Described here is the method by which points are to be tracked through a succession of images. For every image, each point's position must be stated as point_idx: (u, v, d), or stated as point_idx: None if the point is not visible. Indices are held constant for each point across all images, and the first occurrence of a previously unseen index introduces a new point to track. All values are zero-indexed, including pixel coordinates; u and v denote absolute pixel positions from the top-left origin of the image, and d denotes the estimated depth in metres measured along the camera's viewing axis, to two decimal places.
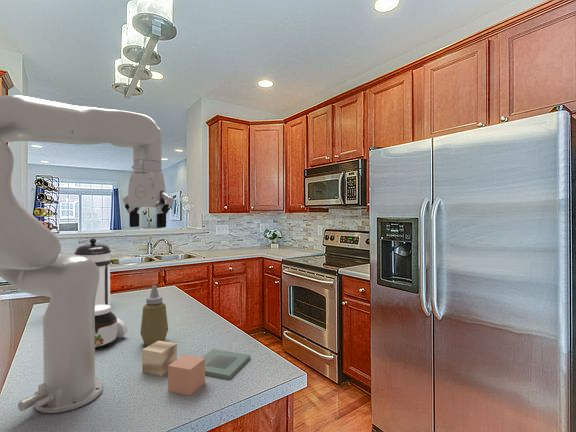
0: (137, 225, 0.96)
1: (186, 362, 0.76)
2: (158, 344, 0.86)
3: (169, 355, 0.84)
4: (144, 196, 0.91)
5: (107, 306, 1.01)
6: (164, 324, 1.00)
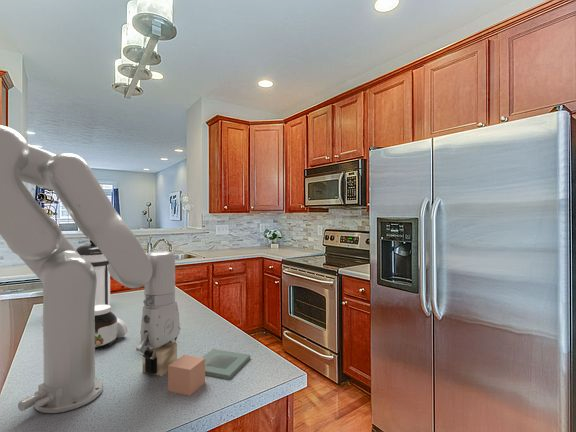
0: None
1: (186, 362, 0.76)
2: None
3: (169, 354, 0.84)
4: (172, 329, 0.85)
5: (107, 306, 1.01)
6: None
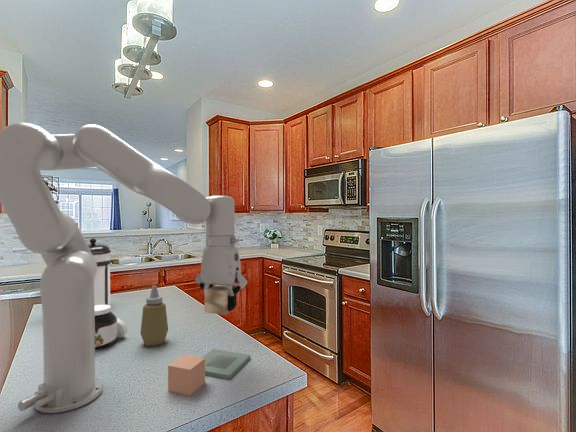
0: None
1: (186, 362, 0.76)
2: (215, 288, 0.86)
3: None
4: None
5: (107, 306, 1.01)
6: (164, 324, 1.00)
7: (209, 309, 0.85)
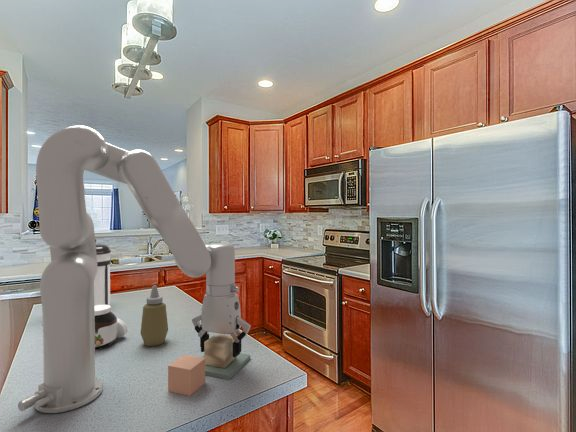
0: None
1: (186, 362, 0.76)
2: (215, 340, 0.86)
3: None
4: None
5: (107, 306, 1.01)
6: (164, 324, 1.00)
7: (208, 361, 0.85)
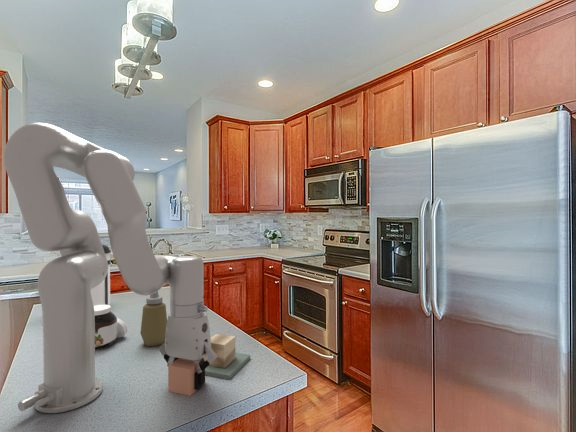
0: None
1: (186, 361, 0.76)
2: (215, 340, 0.86)
3: None
4: None
5: (107, 306, 1.01)
6: (164, 324, 1.00)
7: None
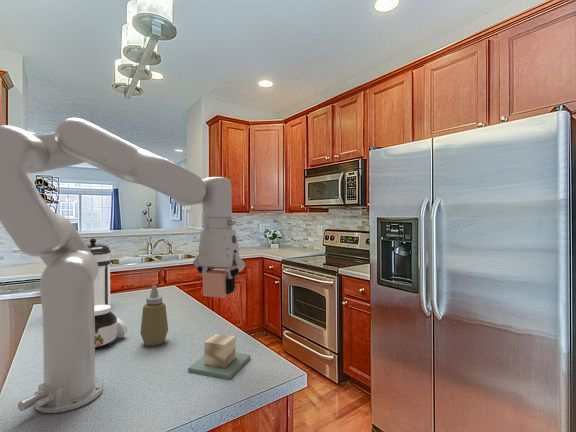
0: None
1: (217, 271, 0.86)
2: (215, 340, 0.86)
3: None
4: None
5: (107, 306, 1.01)
6: (164, 324, 1.00)
7: (208, 361, 0.85)
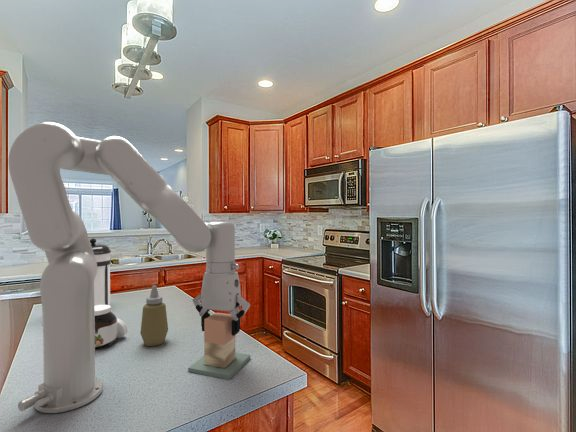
0: None
1: (219, 317, 0.87)
2: None
3: None
4: None
5: (107, 306, 1.01)
6: (164, 324, 1.00)
7: (208, 361, 0.85)
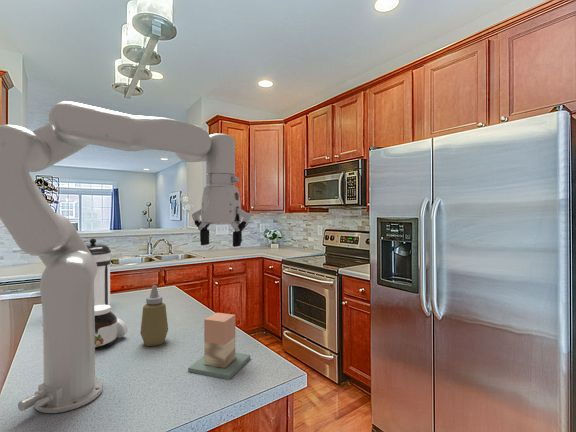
0: None
1: (219, 317, 0.87)
2: None
3: None
4: None
5: (107, 306, 1.01)
6: (164, 324, 1.00)
7: (208, 361, 0.85)
